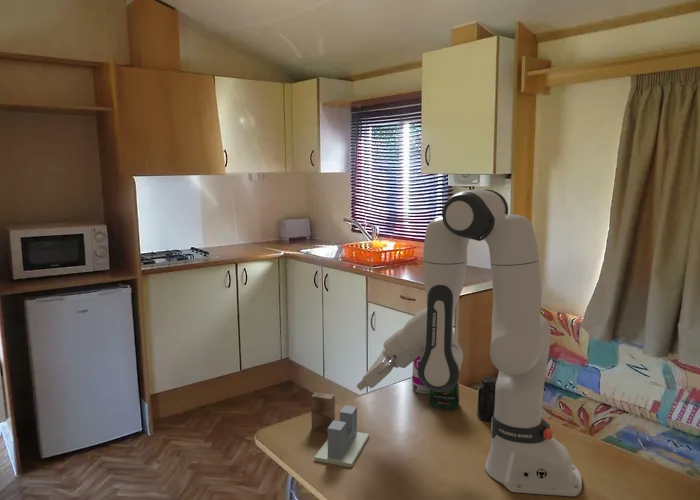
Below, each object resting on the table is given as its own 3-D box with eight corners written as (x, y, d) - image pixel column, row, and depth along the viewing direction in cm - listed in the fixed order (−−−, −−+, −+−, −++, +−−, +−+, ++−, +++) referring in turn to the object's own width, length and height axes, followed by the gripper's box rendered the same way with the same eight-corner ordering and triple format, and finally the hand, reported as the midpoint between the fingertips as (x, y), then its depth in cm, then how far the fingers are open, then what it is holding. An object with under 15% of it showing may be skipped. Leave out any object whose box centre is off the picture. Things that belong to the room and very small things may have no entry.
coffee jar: (427, 408, 169) (428, 351, 166) (430, 398, 176) (431, 343, 173) (458, 412, 166) (460, 354, 163) (460, 401, 174) (462, 346, 171)
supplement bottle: (501, 423, 159) (503, 384, 157) (477, 421, 161) (479, 382, 159) (499, 413, 166) (501, 375, 164) (476, 411, 167) (478, 374, 165)
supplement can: (430, 396, 178) (432, 352, 175) (408, 391, 182) (409, 348, 180) (440, 388, 184) (441, 345, 182) (418, 382, 189) (419, 341, 186)
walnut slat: (334, 427, 157) (334, 394, 155) (331, 432, 154) (331, 399, 152) (315, 424, 159) (315, 392, 157) (311, 429, 156) (311, 396, 154)
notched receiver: (368, 437, 151) (369, 406, 150) (351, 467, 136) (351, 434, 135) (335, 431, 154) (335, 402, 153) (314, 460, 139) (314, 428, 138)
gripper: (398, 373, 136) (360, 405, 140) (414, 347, 155) (380, 376, 159) (381, 354, 136) (344, 386, 141) (399, 331, 155) (366, 359, 160)
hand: (364, 380), depth 150 cm, fingers open, 8 cm apart
